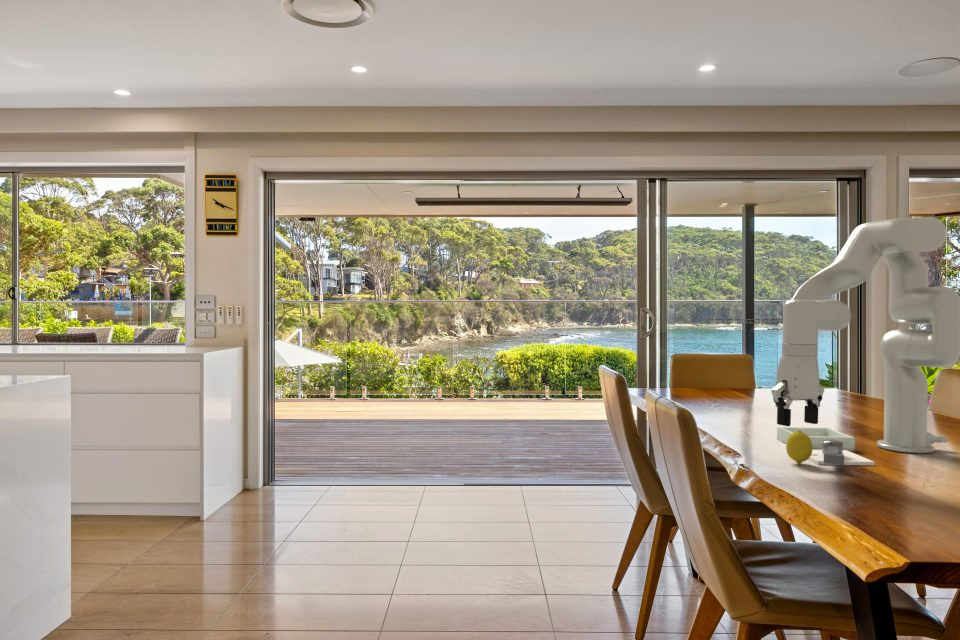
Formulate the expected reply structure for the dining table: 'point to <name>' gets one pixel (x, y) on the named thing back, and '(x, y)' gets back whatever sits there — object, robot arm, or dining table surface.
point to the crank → (833, 452)
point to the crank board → (848, 458)
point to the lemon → (799, 446)
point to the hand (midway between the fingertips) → (797, 424)
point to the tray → (817, 436)
